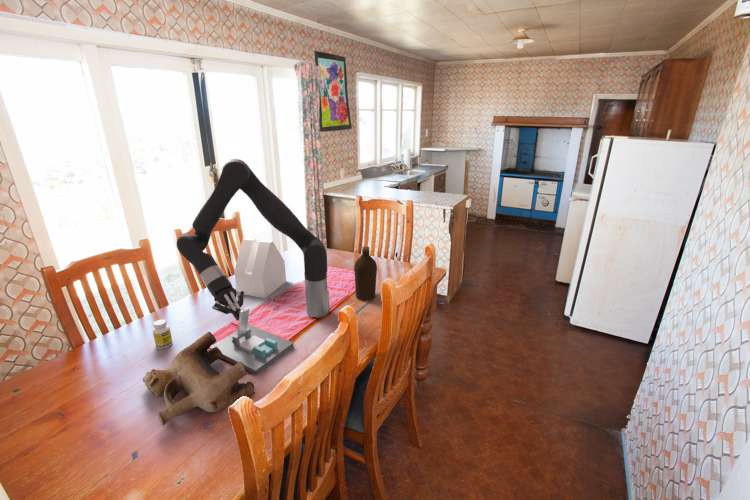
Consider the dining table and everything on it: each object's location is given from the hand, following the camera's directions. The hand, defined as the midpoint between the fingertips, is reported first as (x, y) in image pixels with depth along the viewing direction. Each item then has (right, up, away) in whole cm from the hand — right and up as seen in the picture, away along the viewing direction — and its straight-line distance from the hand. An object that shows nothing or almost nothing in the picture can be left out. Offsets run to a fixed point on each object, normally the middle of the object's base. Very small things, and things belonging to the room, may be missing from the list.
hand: (241, 319), depth 129 cm
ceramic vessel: (-7, -20, -18) cm, 28 cm away
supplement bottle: (-30, -10, +4) cm, 33 cm away
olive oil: (+44, +3, +42) cm, 61 cm away
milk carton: (-8, +6, +50) cm, 51 cm away
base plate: (+3, -11, +2) cm, 12 cm away
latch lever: (-1, -7, +3) cm, 8 cm away
